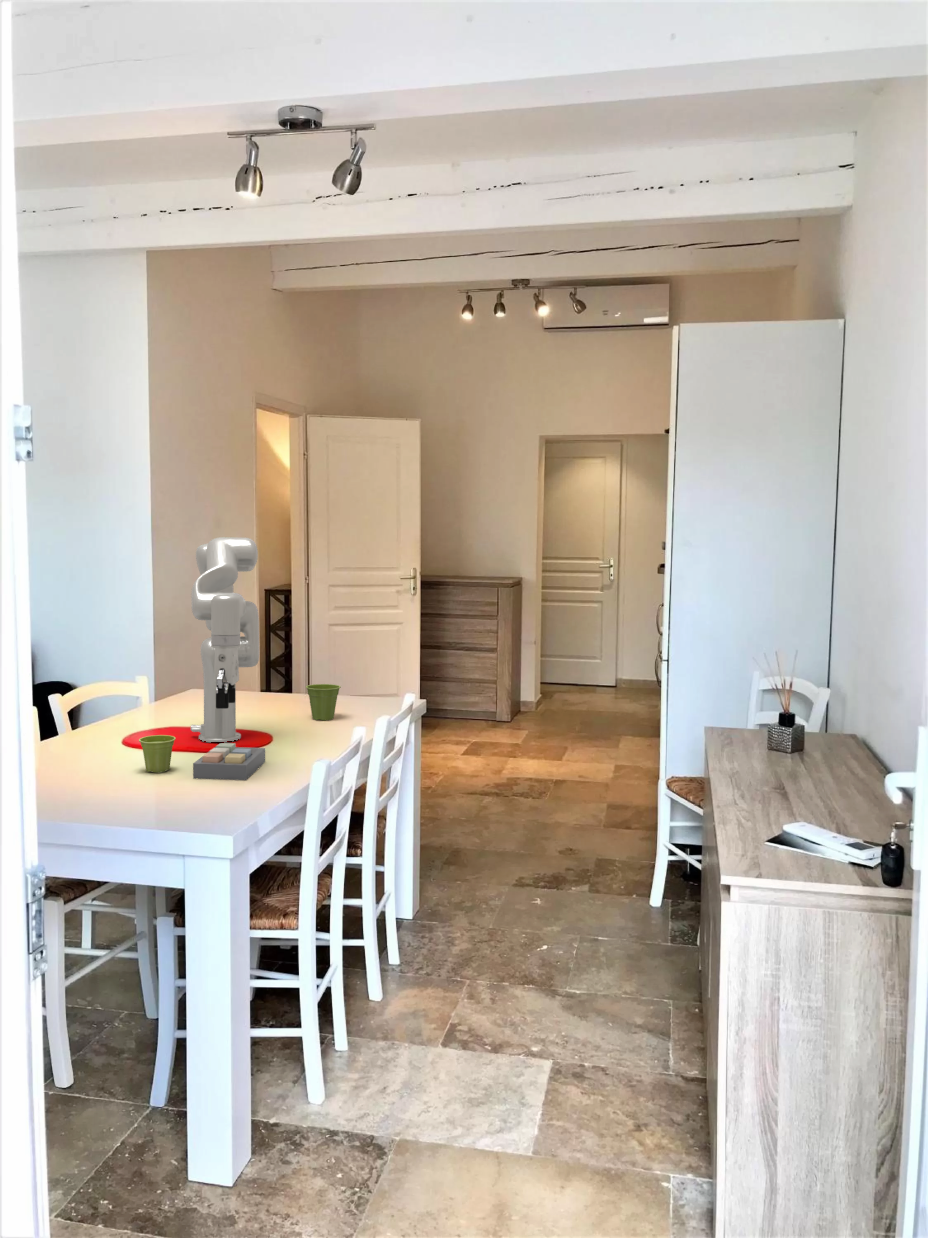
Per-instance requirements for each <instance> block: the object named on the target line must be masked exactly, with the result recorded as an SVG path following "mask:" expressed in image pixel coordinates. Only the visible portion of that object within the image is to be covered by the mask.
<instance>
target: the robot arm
mask: <svg viewBox="0 0 928 1238" xmlns="http://www.w3.org/2000/svg"><path fill="white" fill-rule="evenodd" d="M258 559H259V551H258V546H257V544H256V541H254V540H253V539H252V538H249V537H232V536H230V537H227V536H225V537H223V536H222V537H220V536H219V537H215V538H212V539H210V541H208V543H203V544H201V545H198V547H197V548H196V550H195V561H196V565H197V568H198V571H199V576H198V577H197V578H196V580H195V581H194V583H193V584H192V588H191V594H190V595H191V596H190V597H191V611H192V612H191V613H192V615H193V616H194V618H195V619H196V620H198V621H205V625H206V628H207V630H209V631H211V632H210V637H207V638H206V639H204V640H203V641H202V643H201V644H200V656H201V657H200V658H201V663H202V671H203V673H202V675H203V676H202V677H203V723H202V724H190V731H191V732H193V733H200V734H199V735H198V740H199V739H200V740H202V741H201V742H204V741H206V742H205V743H211V742H224V743H228V742H227V741H232V742H235V741H234V740H236V741H238V739H239V740H240V739H241V738H242V734H241V733H240V732H237V729H236V726H237V725H236V724H237V721H236V719H237V718H236V716H237V714H236V713H237V712H236V711H237V710H236V708H237V706H236V702H237V701H236V700H237V699H236V698H237V697H236V696H237V694H236V693H237V692H236V691H237V689H236V688H237V687H236V684H237V683H238V682H239V681H240V668H253V667H256V666H257V665H258V663H259V661H260V618H259V610H258V607H257V605H256V603H255V602H253V601H249V600H246V599H245V598H244V596H243V595H242V594H240V593H237V592H234V584H235V583H236V582H237V580H238V577H239V572H240V573H241V572H244V573H245V572H246V573H247V572H252V571H253V570H254V568H255V567H256V565H257V563H258ZM241 633H242V634H243V635H244V636H241ZM200 740H199V741H200Z"/></svg>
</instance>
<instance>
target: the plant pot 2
mask: <svg viewBox="0 0 928 1238" xmlns="http://www.w3.org/2000/svg"><path fill="white" fill-rule="evenodd" d="M341 686H342V685H337V684H331V683H320V684H319V683H317V684H316V683H315V684H314V683H313V684H309V685H306V686H305V689H306V690H307V694H308V699H309V705H310V711H311V716H312V717H311V718H312V720H314V721H319V720H320V721H324V722H325V721H332V720H333V719H334V718H335V713H336V706H337V700H338V695H339V692H340V688H341Z"/></svg>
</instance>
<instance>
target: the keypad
mask: <svg viewBox="0 0 928 1238" xmlns="http://www.w3.org/2000/svg"><path fill="white" fill-rule="evenodd" d="M214 748H216V746H215V747H214ZM236 748H238V749H251V756H250V757H249V758H245V761H244V762H243V763H242V764H236V763H225V758H224V757H223V760H222V761H221V762H220V763H208V762H203V756H204V755H203V756H201V757H200V758H198V759H197V760H195V761H194V762H193V763H192V768H193V769H192V772H193V773H192V778H193V779H196V778H198V779H199V780H225V781H226V780H227V781H229V780H230V781H247V780H248V779H249V778H251V776H252V775H254V773H256V772H257V771H258V768H259V769H260V768H261V767H262V766H263V765H264V764H265V763H266V747H248V746H247V747H245V746H244V747H243V746H242V747H239V746H236ZM207 753H210V750H209V751H208V752H207ZM230 753H231V754H232V752H229V754H230Z"/></svg>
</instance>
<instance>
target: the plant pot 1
mask: <svg viewBox="0 0 928 1238" xmlns="http://www.w3.org/2000/svg"><path fill="white" fill-rule="evenodd" d="M138 741H139V743H140V745H141V748H142V753H143V759H144V766H145V770H146V772H148V773H150V772H152V773H154V774H155V773H156V774H158V773H164V772H166V771H169V770H170V769H171V761H172V754H173V753H172V752H173V746H174V745H175V741H176V737H175V736H174V735H167V734H156V735H147V736H143V737H140V738H139V739H138Z"/></svg>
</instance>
